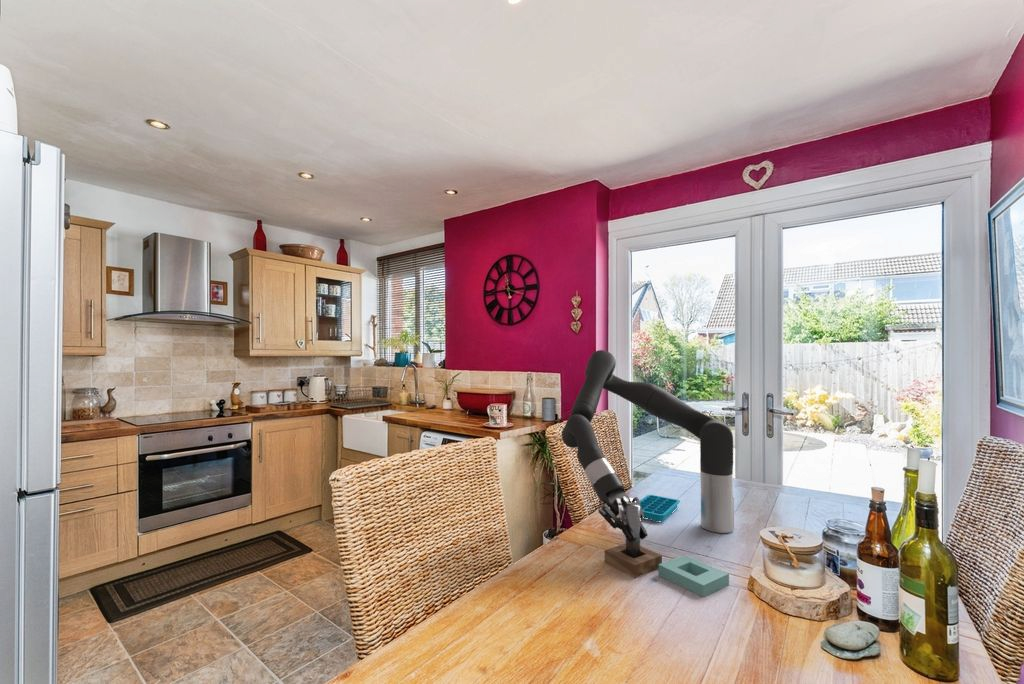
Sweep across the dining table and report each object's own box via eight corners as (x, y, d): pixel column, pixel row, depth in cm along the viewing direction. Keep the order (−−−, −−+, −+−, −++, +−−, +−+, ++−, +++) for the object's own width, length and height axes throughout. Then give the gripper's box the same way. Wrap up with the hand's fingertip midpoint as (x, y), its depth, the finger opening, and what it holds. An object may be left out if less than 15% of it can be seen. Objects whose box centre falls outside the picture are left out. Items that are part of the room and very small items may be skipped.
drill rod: (632, 560, 116) (632, 501, 116) (643, 565, 113) (643, 505, 113) (622, 563, 114) (622, 504, 114) (633, 569, 111) (633, 507, 111)
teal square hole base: (683, 564, 113) (683, 554, 114) (729, 584, 103) (728, 573, 104) (658, 574, 108) (658, 564, 108) (703, 596, 98) (703, 585, 98)
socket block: (631, 553, 120) (631, 541, 120) (662, 567, 112) (662, 555, 112) (604, 562, 114) (604, 550, 115) (635, 577, 106) (635, 565, 106)
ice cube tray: (628, 517, 149) (628, 508, 149) (648, 502, 165) (648, 494, 165) (663, 525, 142) (663, 515, 142) (681, 508, 158) (681, 500, 158)
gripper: (614, 483, 128) (649, 540, 118) (578, 490, 121) (611, 552, 110) (629, 468, 124) (666, 526, 114) (592, 475, 116) (628, 538, 106)
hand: (638, 539), depth 112 cm, fingers closed on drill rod, 3 cm apart
